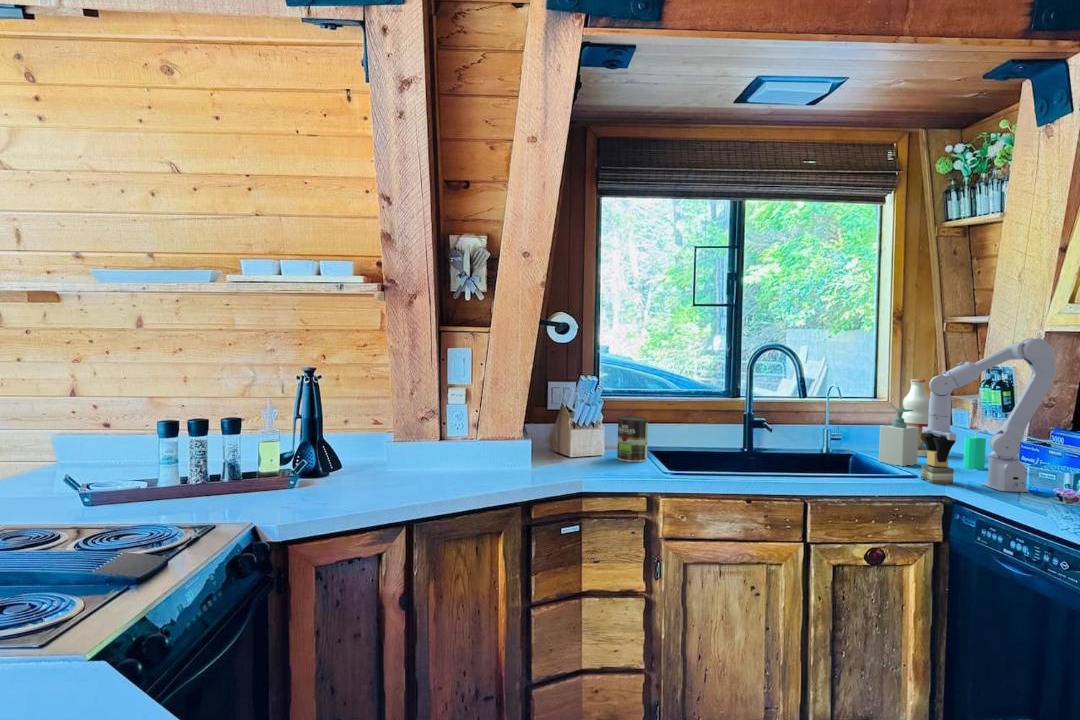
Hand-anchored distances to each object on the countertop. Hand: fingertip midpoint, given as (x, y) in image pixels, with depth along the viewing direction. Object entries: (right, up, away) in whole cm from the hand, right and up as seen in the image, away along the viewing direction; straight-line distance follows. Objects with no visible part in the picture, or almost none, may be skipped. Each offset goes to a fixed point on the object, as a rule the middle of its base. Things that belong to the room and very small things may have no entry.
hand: (937, 460), depth 206 cm
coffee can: (-88, -4, +27) cm, 92 cm away
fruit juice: (+19, -5, +47) cm, 51 cm away
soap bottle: (+3, -6, +28) cm, 29 cm away
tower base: (0, -6, 0) cm, 6 cm away
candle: (+25, -6, +23) cm, 35 cm away
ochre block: (0, -1, 0) cm, 1 cm away
